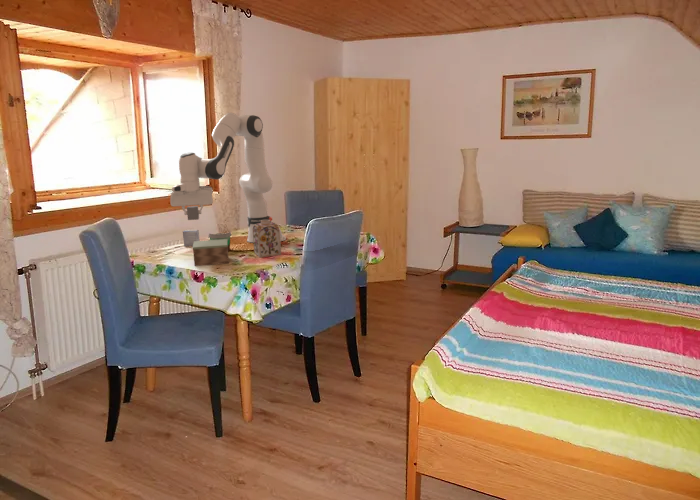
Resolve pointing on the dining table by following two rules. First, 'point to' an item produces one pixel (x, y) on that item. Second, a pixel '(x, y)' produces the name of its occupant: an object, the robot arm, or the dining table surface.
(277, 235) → the decorative jar
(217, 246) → the box lid
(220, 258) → the wooden box
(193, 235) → the medicine box
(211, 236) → the food container
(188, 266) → the dining table surface
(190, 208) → the block
